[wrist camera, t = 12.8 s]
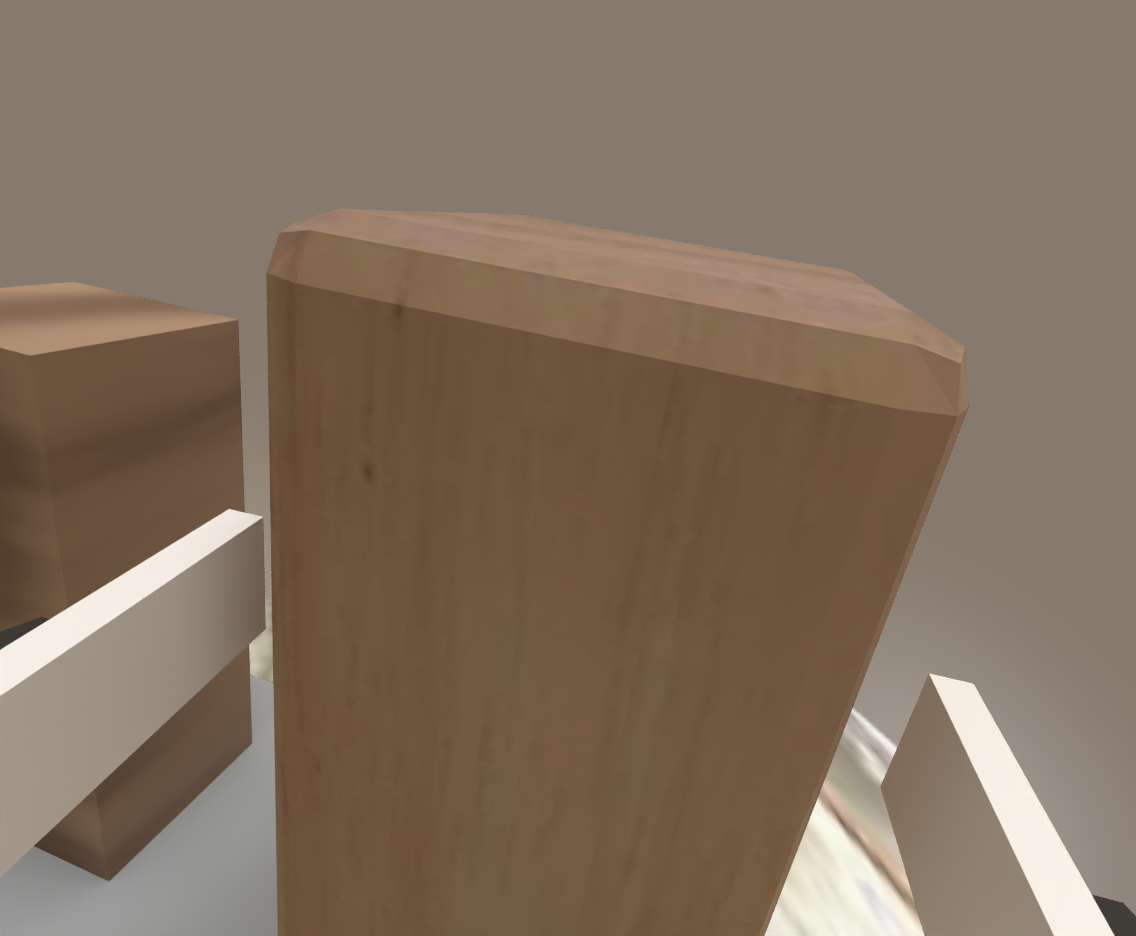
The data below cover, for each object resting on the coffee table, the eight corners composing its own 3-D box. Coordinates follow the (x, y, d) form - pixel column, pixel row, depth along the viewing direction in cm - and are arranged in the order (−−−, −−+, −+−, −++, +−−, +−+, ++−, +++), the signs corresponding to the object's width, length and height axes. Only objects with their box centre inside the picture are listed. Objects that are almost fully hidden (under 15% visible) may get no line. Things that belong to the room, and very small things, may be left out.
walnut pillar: (-43, 810, 22) (-173, 301, 16) (124, 693, 27) (74, 281, 21) (109, 881, 20) (30, 355, 14) (252, 743, 26) (238, 319, 20)
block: (441, 767, 26) (499, 209, 18) (702, 860, 24) (887, 275, 16) (261, 1060, 17) (232, 195, 9) (658, 1251, 15) (1027, 340, 7)
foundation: (-136, 963, 20) (-162, 892, 19) (189, 704, 31) (184, 648, 30) (663, 1410, 15) (694, 1347, 14) (716, 908, 26) (736, 850, 24)
